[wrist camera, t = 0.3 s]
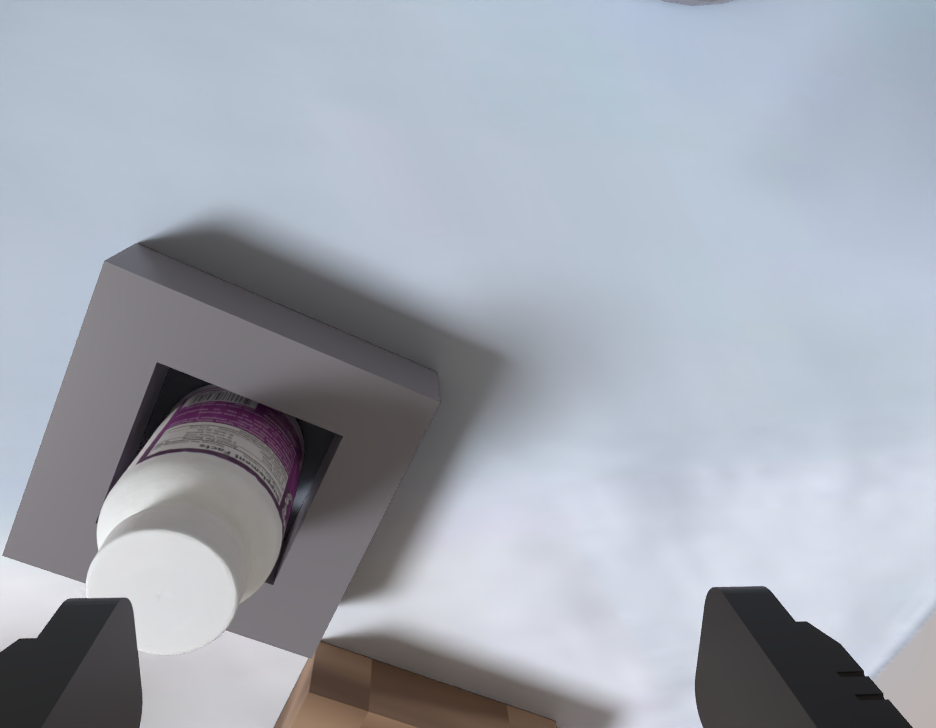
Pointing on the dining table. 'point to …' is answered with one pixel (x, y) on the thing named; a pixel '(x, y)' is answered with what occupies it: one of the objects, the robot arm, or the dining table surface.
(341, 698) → the dock
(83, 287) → the dining table surface
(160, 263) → the grey square frame
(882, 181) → the dining table surface
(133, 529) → the pill bottle
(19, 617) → the dining table surface
